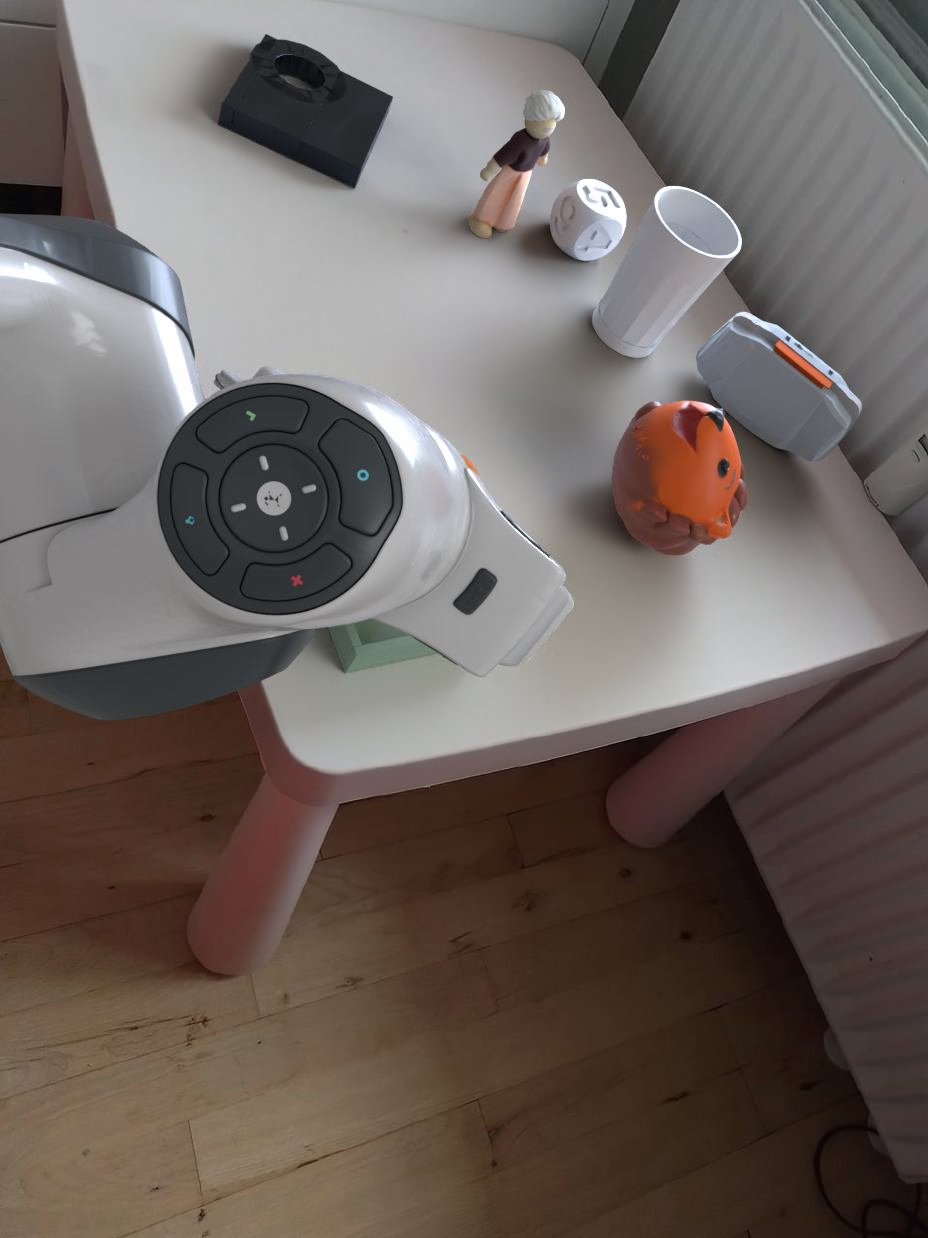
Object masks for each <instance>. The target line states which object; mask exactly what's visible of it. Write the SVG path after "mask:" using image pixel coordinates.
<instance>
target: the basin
mask: <svg viewBox="0 0 928 1238" xmlns="http://www.w3.org/2000/svg"><path fill="white" fill-rule="evenodd" d="M327 629H328V632H329V635H330V638H331V640H332V642H333V645H334V647H335V650H336V652H337V656H338V658H339V661H340V664H341V666H342V669H343V671H344V673H345V674H350V673H353V672H358V671H364V670H368V669H372V668H376V667H381V666H385V665H389V664H390V665H391V664H394V663H395V664H396V663H399V662H405V661H407V660H413V659H418V658H421V657H426V656H430V655H431V656H432V655H435V654H438V653H437V652H436V651H434V650H433V649H431V648H429V647H428V646H426V645H424V644H423V643H421V642H419V641H418V640H416V639H415V638H413V637H412V636H410V635H409V634H407V633H405V632H403V631H401V630H399V629H396V628H394V627H392V626H389V625H387V624H384V623H381V622H379V621H376V620H374V619H371V618H370V619H367V620H364V621H360V622H356V623H351V624H346V625H341V626H333V627H327Z"/></svg>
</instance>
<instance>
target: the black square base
mask: <svg viewBox="0 0 928 1238" xmlns="http://www.w3.org/2000/svg"><path fill="white" fill-rule="evenodd" d="M282 76H290V77H294V78H297V79H299V80H302V81H303V82H305V83H307V84H308V85H309V86H311V87H312V88H305V87H300V86H298V85H295V84H294V83H291V82H289V81H287V80H286V78H283V77H282ZM393 99H394V96H393V95H391V94H389V93H387V92H385V91H382V90H381V89H379V88H376V87H374V86H373V85H372V84H368V83H367V82H364V81H362V80H360V79H359V78H357V77H354V76H352V75H350V74H349V73H346V72H345V71H343V70H340V67H338V65H337V64H336V63H335V62H334V61H332V60H331V59H330V58H328V57H327V56H326V55H325V54H323V53H322V52H320V51H318V50H317V49H315V48H314V47H311V46H308V45H306V44H304V43H300V42H296V41H293V40H289V39H277V38H276V37H273V36H272V35H269V34H268V33H265V34H264V35H263V37H262V39H261V41H260V42H258V43H257V44H256V43H255V45H254V47H253V48H252V50H251V51H250V53H249V57H248V61H247V62H246V64H245V66H244V67H243V69H242V70H241V72H240V73H239V75H238V76H237V78H236V80H235V81H234V82H233V85H232V86H231V88H230V89H229V91H228V92H227V93H226V95H225V97H224V98H223V100H222V102H221V105H220V109H219V110H220V111H219V115H218V120H217V125H218V126H220V127H223V128H225V129H227V130H229V131H231V132H232V133H235V134H237V135H240V136H242V137H243V138H246V139H248V140H250V141H252V142H254V143H256V144H258V145H261V146H263V147H265V148H267V149H269V150H271V151H274V152H276V153H278V154H280V155H282V156H284V157H286V158H289V159H291V160H292V161H295V162H297V163H299V164H300V165H304V167H307V168H309V169H312V170H314V171H316V172H318V173H320V174H322V175H324V176H327V177H329V178H331V179H333V180H335V181H337V182H339V183H342V184H344V185H346V186H348V187H350V188H352V189H356V187H357V184H358V182H359V181H360V178H361V175H362V173H363V171H364V169H365V166H366V164H367V162H368V161H369V157H370V155H371V153H372V151H373V148H374V146H375V144H376V142H377V139H378V137H379V135H380V134H381V133H380V132H381V130H382V128H383V126H384V124H385V122H386V119H387V117H388V114H389V112H390V108H391V105H392V102H393Z"/></svg>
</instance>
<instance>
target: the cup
mask: <svg viewBox="0 0 928 1238" xmlns="http://www.w3.org/2000/svg"><path fill="white" fill-rule="evenodd" d="M741 249H742V235H741V233H740V230H739V228H738V226H737V224H736V223H735V221H734V220H733V218H732V217H731V216H730V214H728V213H727V212H726V211H725V210H724V209H723V208H722V207H721V206H720V205H719V204H718V203H716V202H715V201H714V200H712V199H711V198H709V197H707V195H704V194H703V193H700V192H698V191H696V190H693V189H691V188H688V187H684V186H678V185H670V186H665V187H662V188H660V189H659V190H658V191H656V193H655V195H654V197H653V199H652V200H651V202H650V205H649V207H648V209H647V211H646V212H645V215H644V217H643V218H642V221H641V223H640V224H639V226H638V228H637V231H636V234H635V237H634V239H633V240H632V242H631V244H630V246H629V248H628V250H627V251H626V254H625V255H624V257H623V259H622V261H621V262H620V265H619V267H618V269H617V270H616V272H615V274H614V276H613V278H612V280H611V282H610V283H609V285H608V287H607V289H606V291H605V293H604V295H603V296H602V298H601V299H600V300H599V302H598V304H597V305H596V306H595V308H594V310H593V312H592V314H591V324H592V327H593V329H594V332H596V335H597V336H598V338H599V339H600V340H601V341H602V342H603V343H604V344H605V345H606V346H607V347H609V348H610V349H611V350H613V351H615V352H616V353H618V354H620V355H623V356H625V357H629V358H634V359H641V358H645V357H648V356H649V355H651V354H652V352H653V351H654V350H655V348H656V347H657V346H658V344H659V343H660V342H661V341H662V340H663V338H664V337H665V336H666V335H667V334H668V333H669V332H670V330H671V329H673V327H674V326H675V325H676V324H677V323H678V322H679V320H680V319H681V318H682V317H683V316H684V314H685V313H686V312H687V311H688V310H689V309H690V307H692V306H693V304H694V303H695V302H696V301H697V300H698V298H699V297H700V296H701V295H702V294H703V293H704V292H705V291H706V289H707V288H708V287H709V286H710V285H711V284H712V283H713V281H715V279H716V278H717V277H718V276H719V275H720V274H721V272H723V271H724V269H725V268H726V267H727V266H729V264H730V263H731V262H732V260H733V259H734V258H735V257H736V256H737V255H738V254H739V252H741V251H740V250H741Z"/></svg>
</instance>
